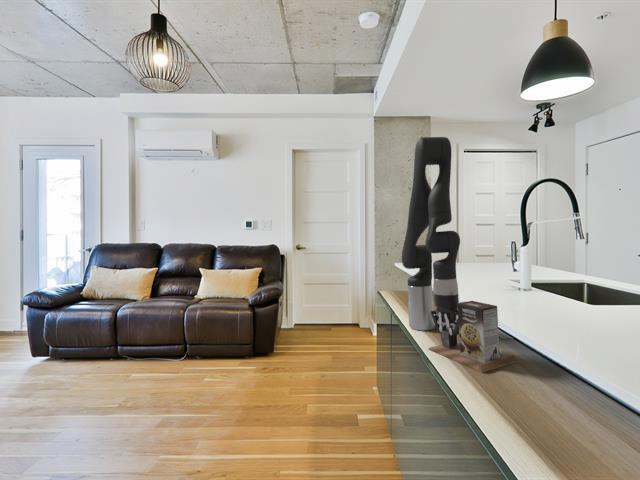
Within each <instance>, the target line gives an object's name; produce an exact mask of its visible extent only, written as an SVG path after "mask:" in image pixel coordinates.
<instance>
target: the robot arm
mask: <svg viewBox="0 0 640 480" xmlns="http://www.w3.org/2000/svg"><path fill="white" fill-rule="evenodd" d="M413 161H414V162H413V177H412V188H411V195H410V199H409V200H410V201H409V206H408V207H409V209H408V215H407V216H408V218H407V225H406V226H407V227H406V233H405V238H404V242H403V247H402V252H401V262H402V265H403V267H404V268H405V269H408V270H410V269H411V270H414V269H418V271H417V272H416V273H415V274H413V275H411V276H410V277H408V278H407V291H408V303H407V310H408V312H407V313H408V326H409V327H410V328H411V329H413V330H415V331H430V330H433V329H438V330H439V332H440V339H441V341H442V331H444V330H448V329H449V333H450V335H449V338H450V346H456V345H457V341H458V335H459V321H458V305H457V303H460V301H459V299H460V297H459V285H458V284H459V283H458V280H457V258H458V252H459V249H460V245H461V237H460V235H459V233H458V232H457V231H456V230H444V231H437V229H438V228H439V227H441V226H445V225H448V224H450V223H451V222H452V219H453V218H452V217H453V215H452V208H451V198H450V197H451V195H450V192H451V191H450V189H451V188H450V187H451V174H452V173H451V169H452V144H451V141H450V139H449V138H448V137H446V136H430V137H429V136H427V137H426V136H425V137H419V139H417V142H416V143H415V148H414V160H413ZM427 166H438V175H437V179H436V181H435V183H434V185H433V187H432V188H431V186H430V184H429V183H428V182H429V181H428V179H427V174H426V170H427V169H426V168H427ZM427 229H428V230H427ZM425 230H427V234H426V238H425V244H418V245H417V243H418V241H419V240H420V237H421V236H422V234H423V233H424V232H425ZM443 253H448V254H447V255H446V257H445V258H441V259H437V260H435V261H433V257H432V254H443ZM432 279H433V280H432ZM432 281H433V284H432ZM432 285H433V287H432ZM434 306H435V307H436V309H435V310H434Z"/></svg>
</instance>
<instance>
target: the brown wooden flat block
mask: <svg viewBox="0 0 640 480" xmlns="http://www.w3.org/2000/svg"><path fill="white" fill-rule="evenodd" d="M449 335H450V333H449V328H448V329H447V330H444V331H442V340H441V343H442V344H440V345H435V346H431V347H428V350H429V351H432V352H433V353H436V354H438V355H439V356H442V357H444V358H447V359H449V360H452V361H453V362H456V363H459V364H460V363H461V365H463V366H465V367H468V368H469V369H472V370H475V371H476V372H479V373H481V374H482V373H486V372H488V371H493V370H495V369H500V368H502V367H507V366H509V365H512V364H515V363H516V356H515V355H514V354H510V355H506V356H503V355H500V358H499V359H495V360H492V361H488V362H485V363H478V362H476V361H473V360H471V359H468V358H466V357H463V356H461V354H460V340H457V345H456V346H450V338H449Z"/></svg>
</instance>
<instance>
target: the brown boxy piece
mask: <svg viewBox="0 0 640 480" xmlns="http://www.w3.org/2000/svg"><path fill="white" fill-rule="evenodd" d="M457 305H458V308H457V310H458V321H459V334H458V335H459V337H458V338H459V341H460V354H461V356H463V357H466V358H468V359H471V360H473V361H476V362H478V363H485V362H488V361H492V360H495V359H499V358H500V356H501V354H500V341H499V340H500V338H499V337H500V336H499V317H498V313H499V312H498V305H494V304H490V303H484V302H479V301H476V300H475V301H473V300H470V301H462V302H459V303H457Z"/></svg>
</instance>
